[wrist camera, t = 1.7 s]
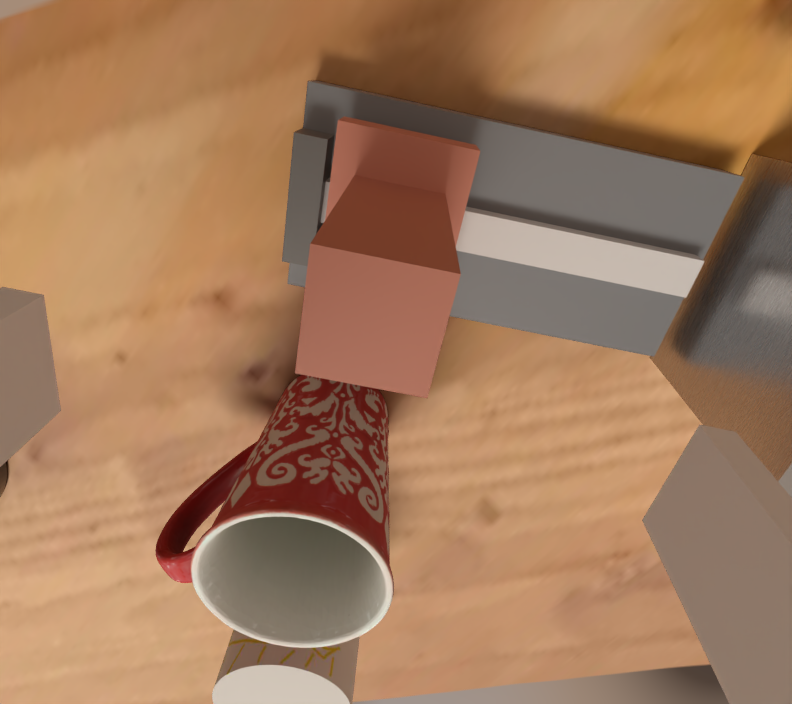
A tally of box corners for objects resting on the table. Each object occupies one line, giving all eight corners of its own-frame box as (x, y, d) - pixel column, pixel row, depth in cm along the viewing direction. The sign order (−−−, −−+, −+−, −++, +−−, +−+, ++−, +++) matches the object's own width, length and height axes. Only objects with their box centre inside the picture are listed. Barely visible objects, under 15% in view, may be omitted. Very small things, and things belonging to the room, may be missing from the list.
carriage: (322, 282, 27) (256, 421, 16) (344, 116, 23) (278, 155, 12) (435, 305, 27) (443, 455, 16) (476, 144, 23) (520, 206, 13)
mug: (386, 340, 32) (365, 500, 20) (415, 454, 36) (411, 641, 24) (197, 373, 34) (76, 538, 22) (245, 478, 38) (165, 663, 26)
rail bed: (295, 271, 30) (278, 298, 26) (315, 80, 25) (298, 81, 22) (641, 340, 31) (669, 374, 28) (723, 170, 26) (769, 185, 23)
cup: (367, 504, 39) (346, 667, 28) (371, 577, 42) (355, 744, 32) (259, 502, 39) (199, 662, 28) (273, 575, 43) (225, 739, 32)
